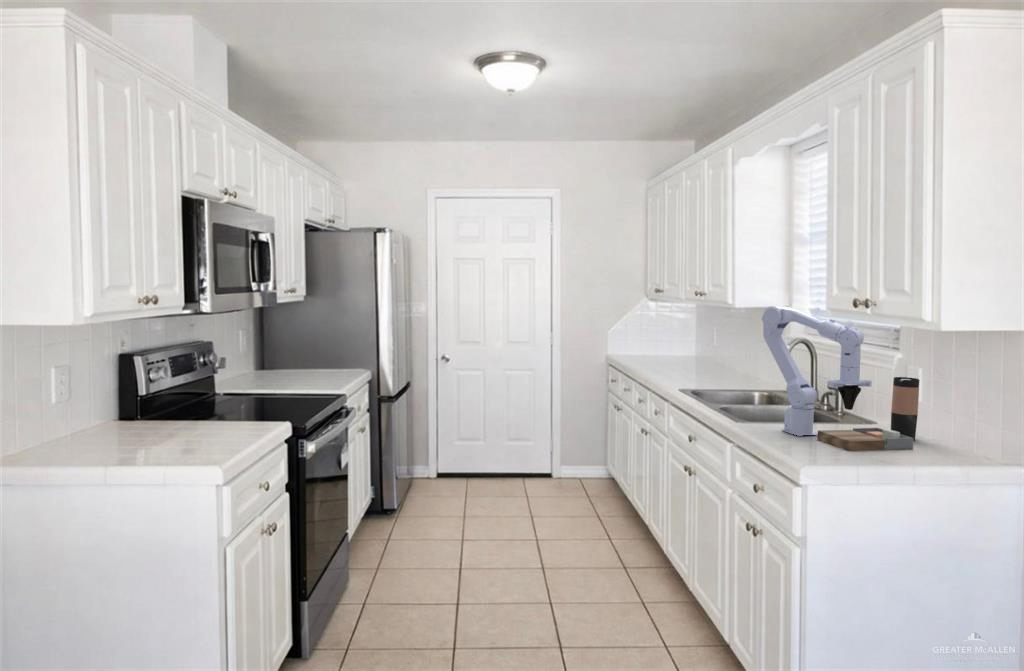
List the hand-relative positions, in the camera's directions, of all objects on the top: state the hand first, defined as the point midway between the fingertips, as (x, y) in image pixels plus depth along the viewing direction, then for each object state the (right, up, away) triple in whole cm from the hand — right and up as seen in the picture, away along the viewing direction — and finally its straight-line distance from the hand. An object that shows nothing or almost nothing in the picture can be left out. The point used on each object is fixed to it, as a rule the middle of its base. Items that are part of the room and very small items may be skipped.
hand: (848, 409), depth 235 cm
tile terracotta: (+9, -8, +1) cm, 12 cm away
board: (-1, -11, -4) cm, 12 cm away
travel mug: (+21, -11, +6) cm, 24 cm away
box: (+9, -11, -2) cm, 14 cm away
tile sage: (+9, -8, -6) cm, 14 cm away
